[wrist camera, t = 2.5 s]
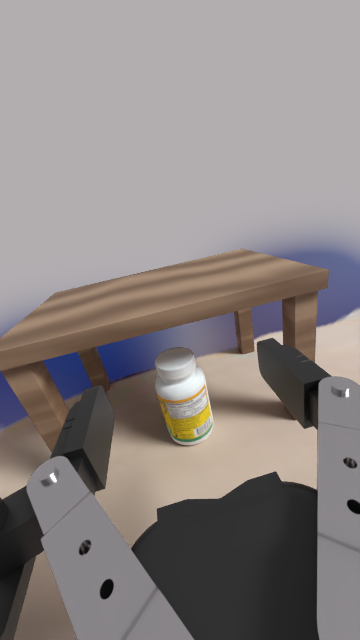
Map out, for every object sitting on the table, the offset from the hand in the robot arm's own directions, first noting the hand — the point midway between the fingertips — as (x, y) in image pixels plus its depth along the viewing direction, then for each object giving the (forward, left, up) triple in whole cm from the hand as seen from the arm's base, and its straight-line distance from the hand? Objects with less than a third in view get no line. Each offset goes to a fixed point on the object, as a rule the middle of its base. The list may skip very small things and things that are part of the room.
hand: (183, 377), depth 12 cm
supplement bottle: (-5, +9, -15) cm, 18 cm away
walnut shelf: (-8, +13, -15) cm, 21 cm away
